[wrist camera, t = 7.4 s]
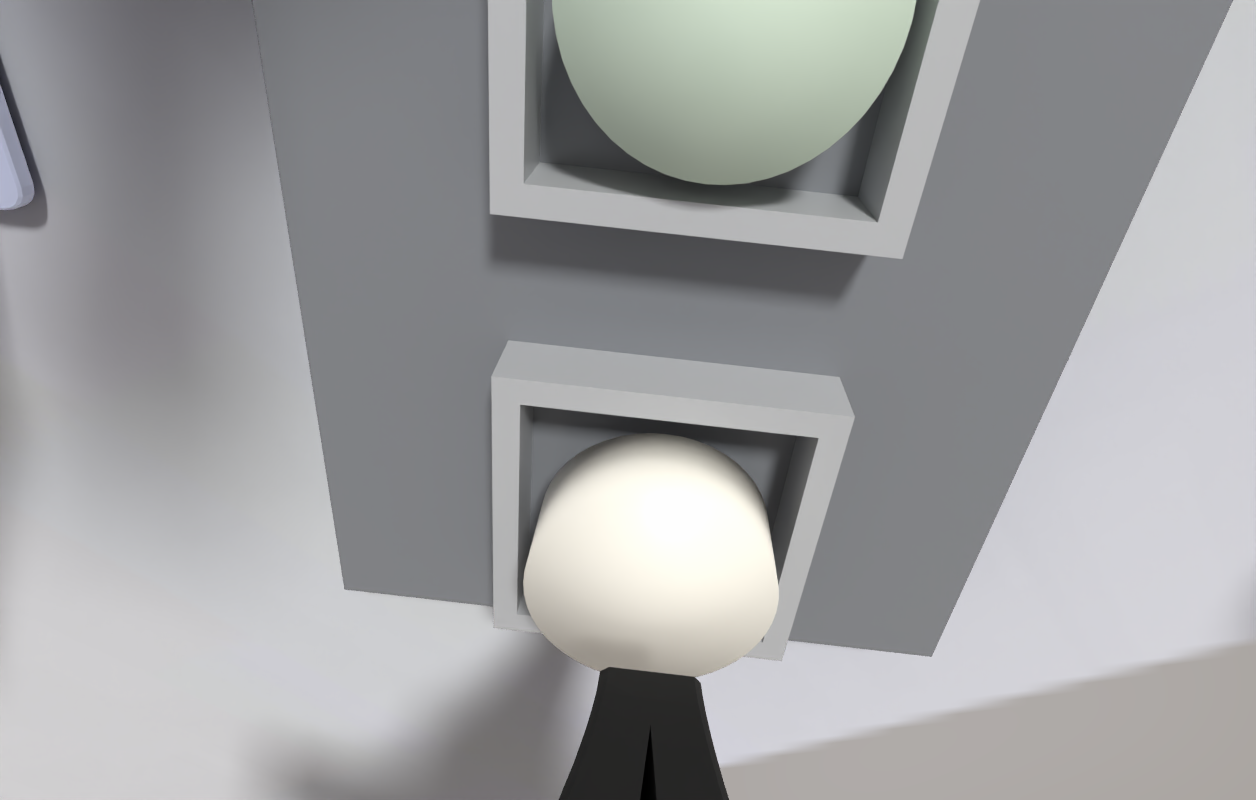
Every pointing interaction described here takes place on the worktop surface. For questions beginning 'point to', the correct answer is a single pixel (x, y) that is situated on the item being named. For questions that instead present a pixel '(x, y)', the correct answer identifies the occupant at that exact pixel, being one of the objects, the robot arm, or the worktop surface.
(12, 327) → the worktop surface
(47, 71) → the worktop surface
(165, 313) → the worktop surface
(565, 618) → the cream button
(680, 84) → the sage button
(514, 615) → the button panel
